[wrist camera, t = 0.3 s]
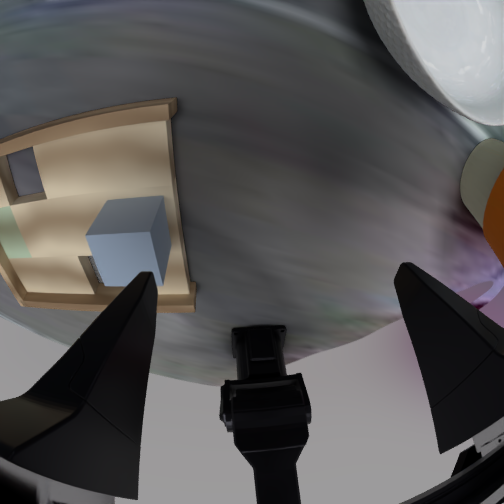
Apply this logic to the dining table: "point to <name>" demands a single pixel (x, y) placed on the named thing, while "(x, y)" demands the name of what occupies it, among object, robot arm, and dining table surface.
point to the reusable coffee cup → (486, 191)
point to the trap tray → (88, 204)
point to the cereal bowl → (449, 50)
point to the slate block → (130, 239)
